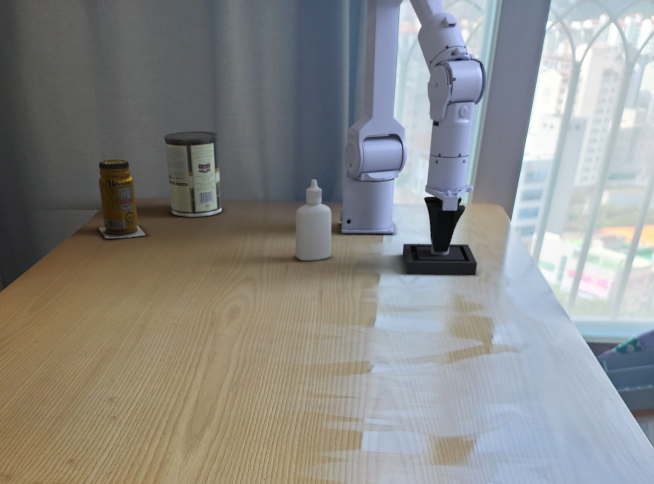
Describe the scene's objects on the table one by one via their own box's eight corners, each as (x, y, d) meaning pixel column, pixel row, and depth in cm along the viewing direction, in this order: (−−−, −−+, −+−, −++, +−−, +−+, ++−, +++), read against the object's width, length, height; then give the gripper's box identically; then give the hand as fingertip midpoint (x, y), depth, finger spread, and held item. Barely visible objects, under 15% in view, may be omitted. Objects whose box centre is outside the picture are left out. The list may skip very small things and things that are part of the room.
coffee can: (192, 203, 157) (186, 129, 150) (231, 209, 153) (228, 133, 145) (160, 213, 150) (153, 136, 142) (201, 219, 146) (195, 140, 138)
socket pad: (406, 273, 115) (407, 262, 114) (402, 254, 124) (403, 243, 123) (475, 274, 115) (477, 263, 114) (466, 255, 123) (468, 244, 122)
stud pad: (418, 266, 116) (421, 235, 114) (415, 254, 122) (417, 224, 119) (464, 267, 116) (467, 236, 113) (458, 254, 122) (462, 224, 119)
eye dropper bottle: (297, 253, 125) (297, 176, 119) (331, 254, 125) (333, 177, 118) (294, 261, 122) (294, 182, 115) (328, 262, 121) (330, 183, 114)
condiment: (137, 225, 143) (129, 157, 136) (146, 236, 136) (138, 164, 129) (98, 229, 141) (88, 159, 134) (105, 240, 134) (96, 168, 127)
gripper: (484, 163, 104) (471, 261, 112) (470, 146, 116) (459, 236, 124) (432, 163, 105) (423, 261, 112) (424, 146, 117) (416, 236, 124)
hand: (439, 248), depth 118 cm, fingers closed on stud pad, 3 cm apart
